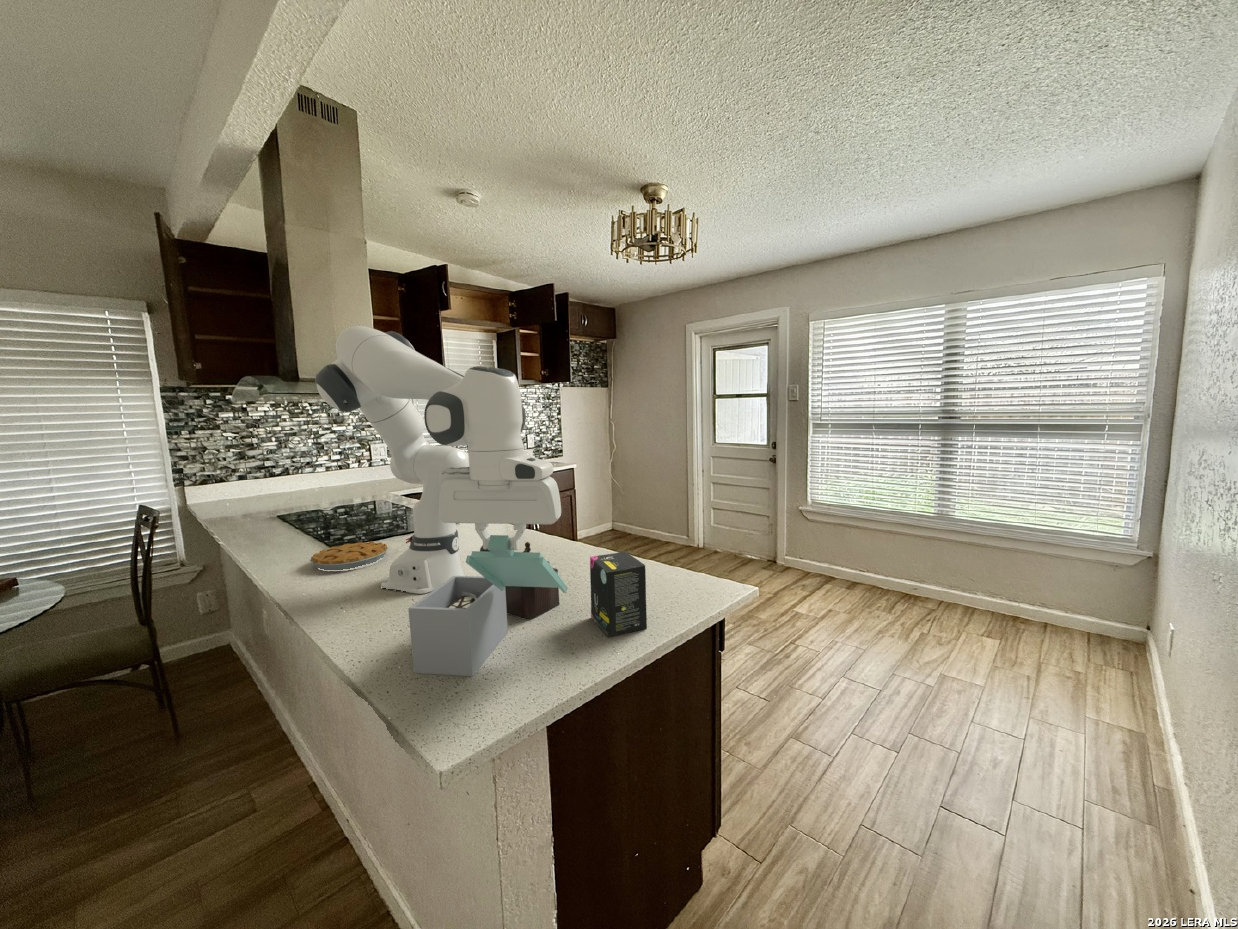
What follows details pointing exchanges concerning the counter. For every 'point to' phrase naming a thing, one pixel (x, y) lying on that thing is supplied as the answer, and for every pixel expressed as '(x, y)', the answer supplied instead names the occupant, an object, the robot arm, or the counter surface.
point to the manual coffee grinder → (530, 598)
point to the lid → (513, 566)
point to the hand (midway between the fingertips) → (502, 548)
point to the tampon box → (618, 593)
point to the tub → (457, 627)
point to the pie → (349, 555)
